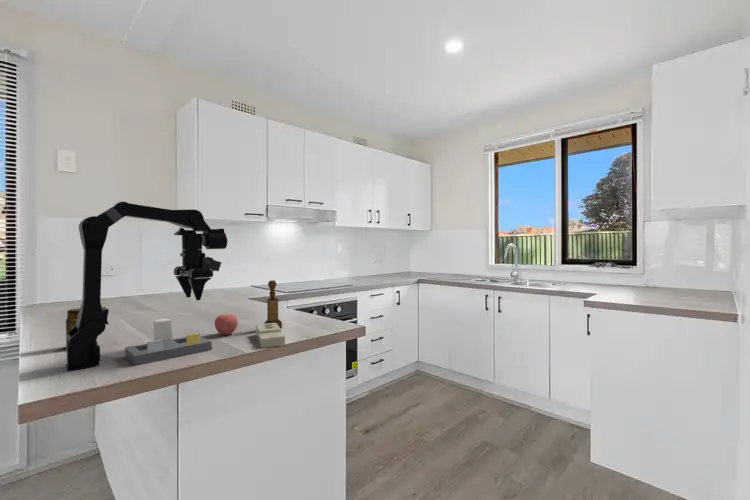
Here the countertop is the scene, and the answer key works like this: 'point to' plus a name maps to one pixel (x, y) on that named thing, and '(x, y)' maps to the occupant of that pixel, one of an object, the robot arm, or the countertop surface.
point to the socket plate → (167, 349)
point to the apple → (226, 323)
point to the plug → (162, 329)
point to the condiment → (70, 323)
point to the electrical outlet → (269, 335)
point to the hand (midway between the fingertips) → (193, 298)
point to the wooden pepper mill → (272, 306)
